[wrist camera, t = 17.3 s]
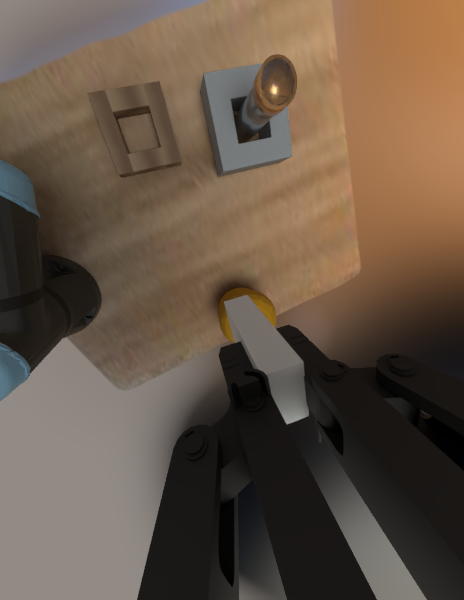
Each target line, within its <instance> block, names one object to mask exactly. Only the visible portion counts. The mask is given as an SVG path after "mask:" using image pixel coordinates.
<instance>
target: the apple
mask: <svg viewBox="0 0 464 600" xmlns="http://www.w3.org/2000/svg"><path fill="white" fill-rule="evenodd" d="M244 295H248V296H249V298H250V299H251V300H252V301H253V302H254V304H255V305H256V306H257V307H258V308H259V309H260V311H261V312H262V313H263V314H264V315H265V317H266V318H267V319H268V320H269V321H270V323H271V324H272V325H273V326H274V327H275V326H276V312H275V308H274V305H273V303H272V302H271V300H270V299H268V298H267V297H266V296H265V295H264V294H262V293H260V292H258V291H255V290H252V289H249V288H235V289H232V290H230V291H228V292H226V293H225V295H224V296H223V297H222V298H221V300H220V303H219V311H218V316H219V322H220V327H221V330H222V332H223V333H224V335H225V337H227V338H228V339H229V340H230V341H232V342H234V343H235V341H234V339H233V335H232V331H231V328H230V324H229V320H228V316H227V312H226V309H225V305H224V302H225V301H228V300H231V299H234V298H238V297H241V296H244Z"/></svg>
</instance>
